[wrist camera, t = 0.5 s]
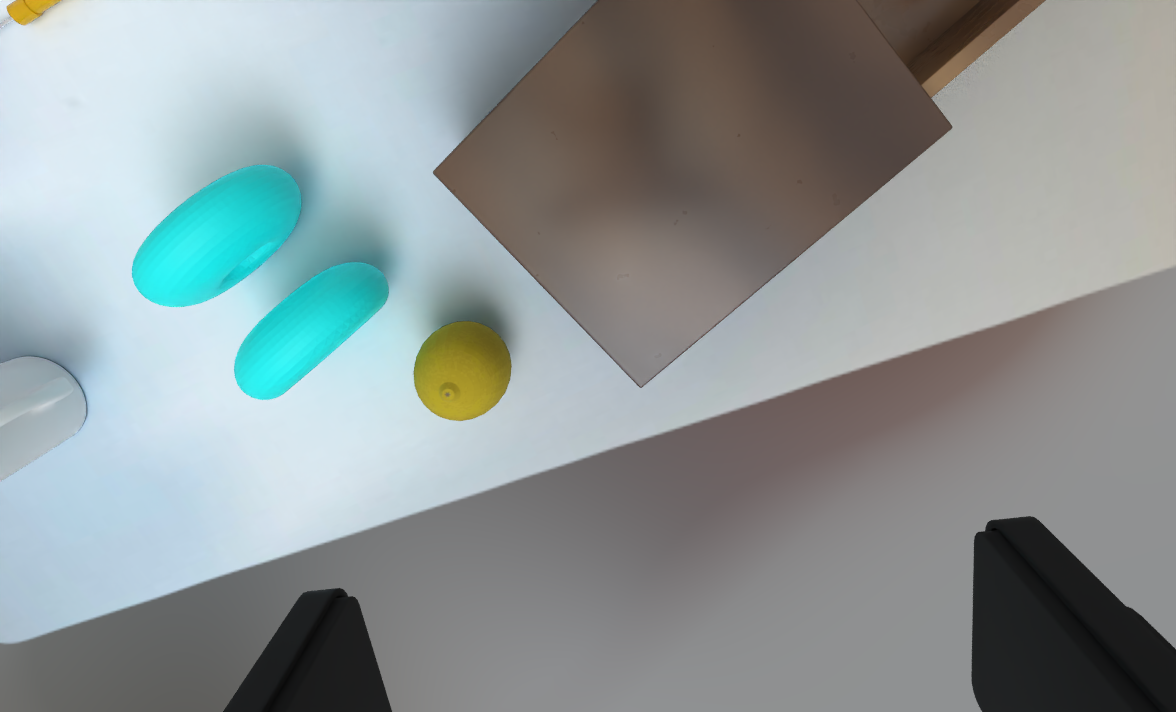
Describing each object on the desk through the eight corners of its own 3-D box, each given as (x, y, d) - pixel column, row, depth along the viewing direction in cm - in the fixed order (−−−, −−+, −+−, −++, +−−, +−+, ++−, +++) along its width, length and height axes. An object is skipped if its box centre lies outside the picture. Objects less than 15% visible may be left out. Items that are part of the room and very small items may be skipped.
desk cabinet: (716, -94, 37) (743, -153, 29) (886, 124, 40) (954, 127, 32) (469, 160, 42) (431, 172, 34) (637, 337, 45) (640, 389, 37)
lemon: (512, 302, 45) (489, 340, 37) (525, 384, 47) (506, 437, 39) (426, 311, 45) (386, 352, 38) (442, 392, 47) (408, 446, 40)
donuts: (300, 148, 42) (207, 159, 33) (418, 275, 45) (363, 320, 35) (194, 255, 45) (80, 294, 35) (311, 371, 47) (233, 437, 38)
